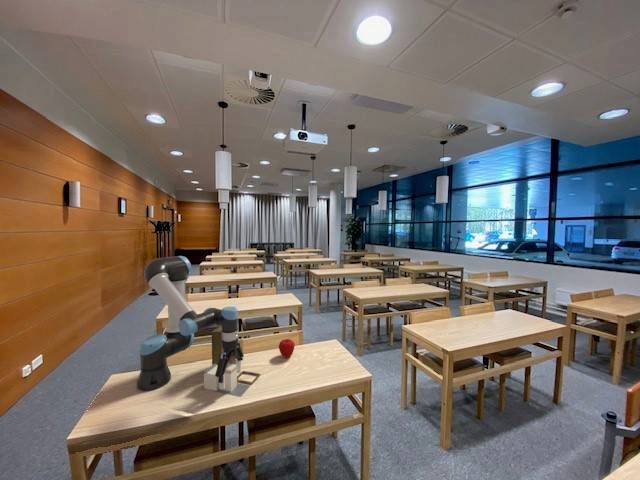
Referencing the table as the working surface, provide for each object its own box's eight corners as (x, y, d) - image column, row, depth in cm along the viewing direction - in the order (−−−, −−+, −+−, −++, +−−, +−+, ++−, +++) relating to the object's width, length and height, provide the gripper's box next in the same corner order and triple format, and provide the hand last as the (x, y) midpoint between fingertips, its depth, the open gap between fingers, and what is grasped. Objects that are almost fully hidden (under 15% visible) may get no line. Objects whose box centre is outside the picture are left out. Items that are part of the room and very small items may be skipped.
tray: (234, 383, 139) (234, 379, 139) (243, 374, 147) (243, 370, 147) (252, 386, 136) (252, 382, 136) (260, 377, 144) (260, 373, 144)
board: (201, 391, 132) (201, 388, 132) (213, 380, 141) (213, 378, 141) (240, 399, 126) (240, 396, 126) (250, 388, 135) (250, 385, 135)
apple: (276, 358, 165) (275, 341, 165) (284, 351, 174) (284, 335, 173) (289, 361, 161) (289, 344, 161) (297, 354, 170) (297, 337, 169)
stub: (218, 389, 132) (218, 367, 131) (224, 383, 136) (224, 362, 136) (231, 391, 130) (230, 369, 129) (236, 385, 135) (236, 364, 134)
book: (228, 361, 161) (228, 321, 159) (236, 362, 160) (236, 321, 158) (212, 376, 145) (211, 331, 143) (221, 377, 143) (220, 332, 142)
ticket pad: (203, 388, 132) (203, 371, 132) (214, 379, 140) (214, 363, 139) (215, 391, 130) (215, 374, 130) (226, 381, 138) (225, 365, 138)
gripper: (220, 351, 118) (221, 397, 119) (250, 330, 142) (250, 368, 143) (206, 349, 120) (207, 394, 121) (237, 328, 144) (238, 366, 145)
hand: (230, 380), depth 132 cm, fingers open, 13 cm apart
